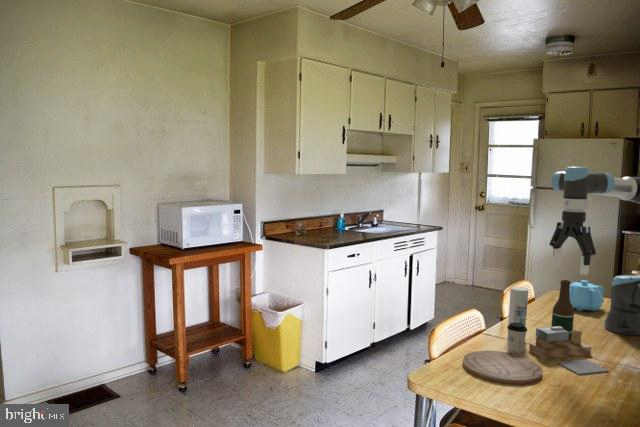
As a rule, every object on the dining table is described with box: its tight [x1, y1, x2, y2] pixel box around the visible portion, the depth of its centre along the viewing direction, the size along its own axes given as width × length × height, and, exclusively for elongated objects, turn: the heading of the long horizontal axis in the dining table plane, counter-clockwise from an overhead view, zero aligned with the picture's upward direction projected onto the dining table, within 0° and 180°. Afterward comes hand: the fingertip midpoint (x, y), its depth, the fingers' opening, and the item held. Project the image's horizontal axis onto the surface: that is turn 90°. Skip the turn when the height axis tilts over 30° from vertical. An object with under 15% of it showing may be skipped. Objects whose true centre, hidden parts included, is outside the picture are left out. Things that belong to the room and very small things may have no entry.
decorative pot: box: [570, 279, 605, 312], centre depth 247 cm, size 16×16×14 cm
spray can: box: [507, 286, 529, 328], centre depth 200 cm, size 6×6×20 cm
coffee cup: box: [506, 323, 528, 355], centre depth 187 cm, size 7×7×10 cm
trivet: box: [462, 350, 543, 386], centre depth 171 cm, size 25×25×2 cm
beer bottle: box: [550, 279, 575, 340], centre depth 199 cm, size 8×8×24 cm
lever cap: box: [535, 326, 569, 341], centre depth 185 cm, size 9×6×4 cm, turn 105°
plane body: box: [528, 328, 592, 360], centre depth 186 cm, size 20×8×8 cm, turn 105°
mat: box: [556, 358, 609, 376], centre depth 174 cm, size 12×10×1 cm
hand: (569, 270), depth 182 cm, fingers open, 13 cm apart
